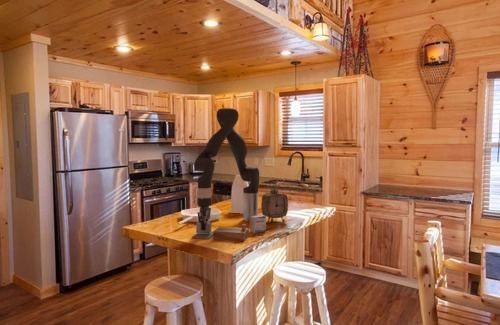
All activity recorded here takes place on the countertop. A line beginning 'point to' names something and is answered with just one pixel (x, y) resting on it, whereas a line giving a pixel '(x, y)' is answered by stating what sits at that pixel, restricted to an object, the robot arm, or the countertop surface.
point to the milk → (238, 194)
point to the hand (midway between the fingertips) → (204, 229)
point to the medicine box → (257, 223)
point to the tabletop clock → (274, 204)
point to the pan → (192, 215)
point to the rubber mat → (203, 235)
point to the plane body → (231, 233)
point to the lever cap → (207, 227)
